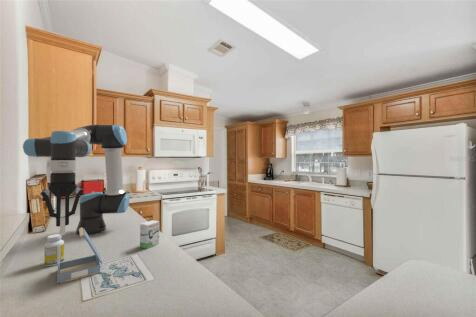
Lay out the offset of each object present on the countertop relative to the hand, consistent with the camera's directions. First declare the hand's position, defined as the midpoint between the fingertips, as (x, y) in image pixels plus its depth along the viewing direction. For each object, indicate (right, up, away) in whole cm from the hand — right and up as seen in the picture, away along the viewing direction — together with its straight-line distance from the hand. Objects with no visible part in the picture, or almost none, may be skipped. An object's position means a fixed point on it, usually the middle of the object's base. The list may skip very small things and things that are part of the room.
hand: (62, 234), depth 85 cm
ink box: (+21, -16, +30) cm, 40 cm away
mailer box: (+4, -16, +3) cm, 17 cm away
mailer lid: (+6, -7, +5) cm, 10 cm away
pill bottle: (-12, -16, +10) cm, 22 cm away
